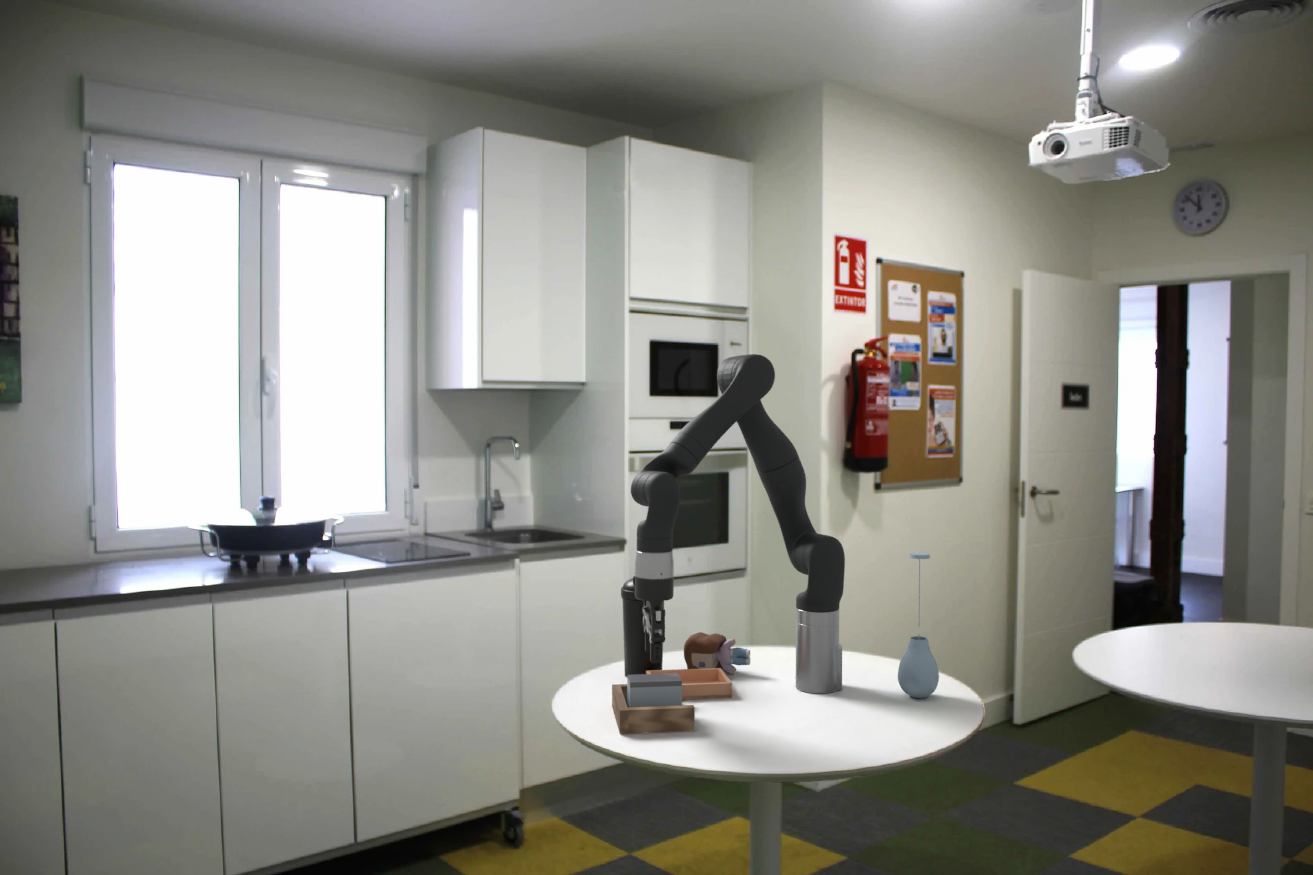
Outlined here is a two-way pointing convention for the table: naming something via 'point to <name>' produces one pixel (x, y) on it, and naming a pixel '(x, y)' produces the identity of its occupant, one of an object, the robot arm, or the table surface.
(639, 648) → the water bottle
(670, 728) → the bay
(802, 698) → the table surface
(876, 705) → the table surface
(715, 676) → the tray
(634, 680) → the grey rectangular prism
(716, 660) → the toy
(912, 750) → the table surface
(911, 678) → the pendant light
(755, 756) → the table surface
